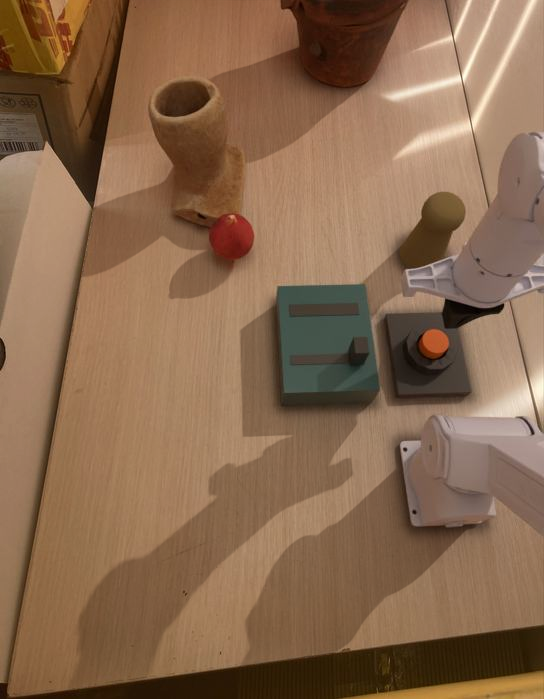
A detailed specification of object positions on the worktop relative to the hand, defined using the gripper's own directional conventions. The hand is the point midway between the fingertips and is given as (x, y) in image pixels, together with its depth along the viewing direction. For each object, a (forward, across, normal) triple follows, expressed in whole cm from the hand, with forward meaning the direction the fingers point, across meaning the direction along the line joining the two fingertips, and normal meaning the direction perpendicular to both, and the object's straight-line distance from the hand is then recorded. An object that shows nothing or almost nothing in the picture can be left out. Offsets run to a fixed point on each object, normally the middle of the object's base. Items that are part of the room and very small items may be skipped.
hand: (449, 320), depth 59 cm
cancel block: (+10, 0, 0) cm, 10 cm away
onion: (+10, +24, -16) cm, 30 cm away
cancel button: (+7, 0, 0) cm, 7 cm away
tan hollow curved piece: (+10, +28, -27) cm, 40 cm away
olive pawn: (+10, -2, -15) cm, 18 cm away
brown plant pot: (+10, +6, -54) cm, 55 cm away
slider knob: (+5, +10, +2) cm, 11 cm away
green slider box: (+10, +13, -1) cm, 16 cm away
